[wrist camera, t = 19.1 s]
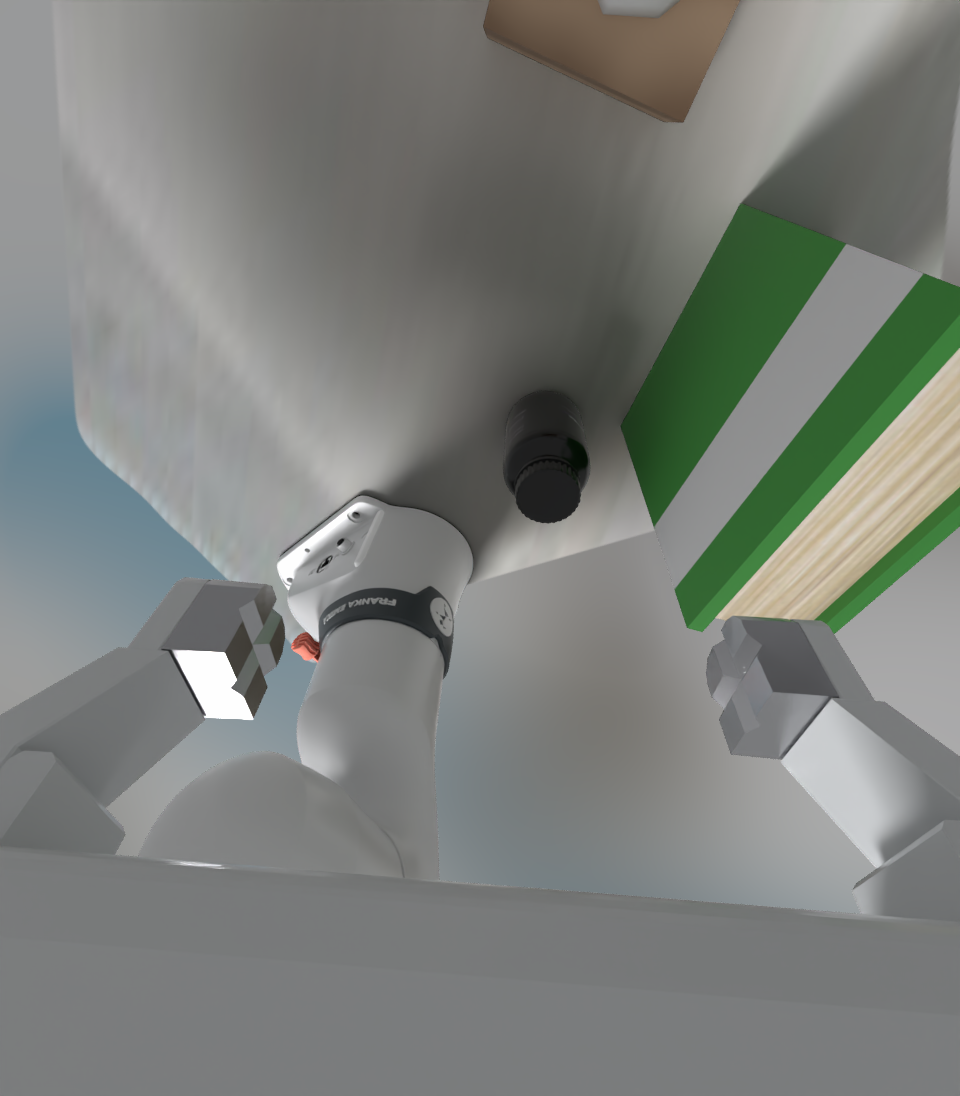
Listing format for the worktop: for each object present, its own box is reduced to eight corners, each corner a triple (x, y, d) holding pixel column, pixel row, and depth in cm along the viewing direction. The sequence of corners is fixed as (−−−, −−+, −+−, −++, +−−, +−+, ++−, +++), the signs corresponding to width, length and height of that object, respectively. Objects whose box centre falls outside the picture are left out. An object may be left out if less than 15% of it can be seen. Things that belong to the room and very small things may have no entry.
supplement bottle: (595, 403, 45) (614, 476, 36) (561, 467, 50) (570, 546, 40) (522, 376, 44) (523, 444, 35) (494, 443, 48) (488, 519, 39)
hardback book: (694, 450, 48) (804, 659, 29) (620, 426, 47) (687, 627, 28) (832, 241, 37) (1147, 365, 18) (740, 203, 36) (977, 294, 17)
